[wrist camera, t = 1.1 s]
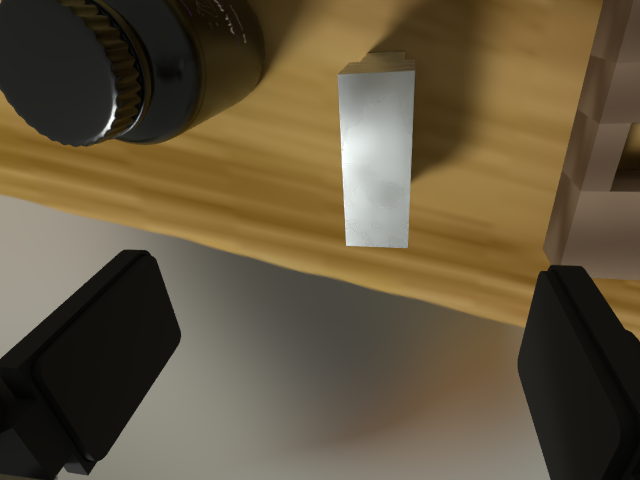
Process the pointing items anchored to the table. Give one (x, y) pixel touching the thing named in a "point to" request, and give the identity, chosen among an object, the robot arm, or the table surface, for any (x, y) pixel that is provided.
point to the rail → (602, 157)
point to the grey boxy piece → (377, 148)
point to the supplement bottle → (126, 65)
